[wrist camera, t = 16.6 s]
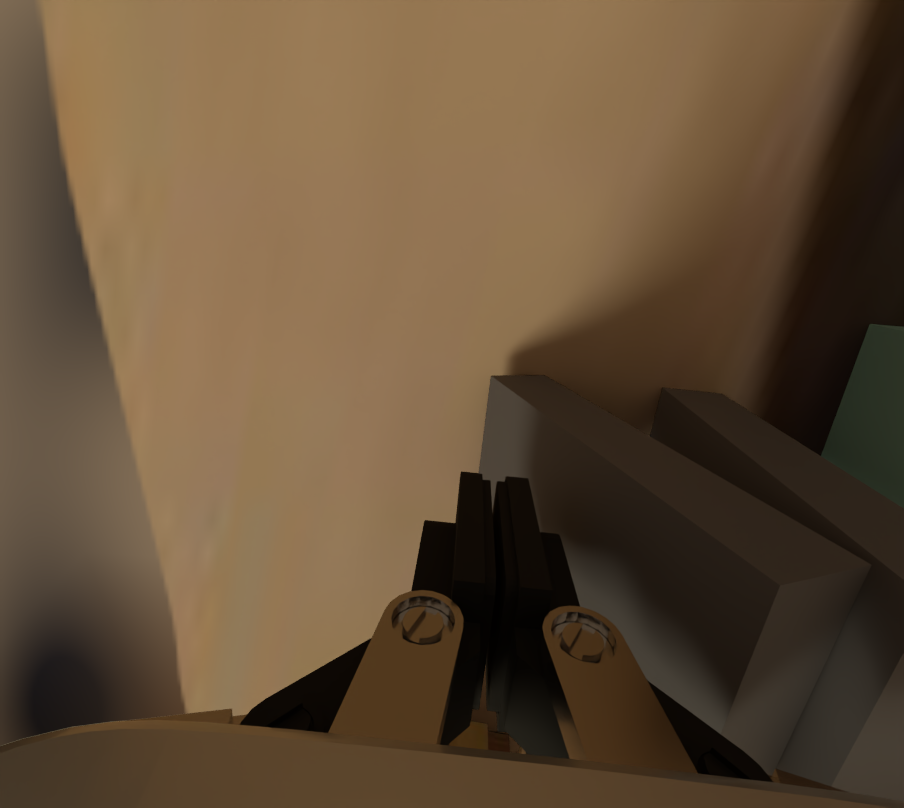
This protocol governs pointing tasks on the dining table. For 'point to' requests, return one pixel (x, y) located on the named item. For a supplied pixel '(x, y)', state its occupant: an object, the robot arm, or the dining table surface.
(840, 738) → the domino
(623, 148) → the dining table surface
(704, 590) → the domino
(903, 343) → the domino
